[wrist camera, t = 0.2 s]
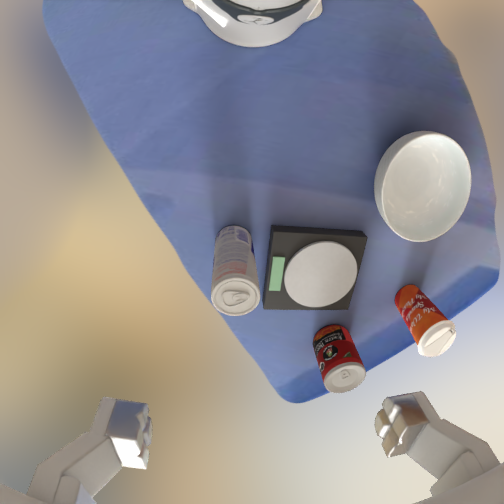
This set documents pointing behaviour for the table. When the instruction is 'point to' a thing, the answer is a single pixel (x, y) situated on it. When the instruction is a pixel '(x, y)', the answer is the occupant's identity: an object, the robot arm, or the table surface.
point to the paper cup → (425, 321)
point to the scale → (312, 268)
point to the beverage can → (234, 272)
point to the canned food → (338, 359)
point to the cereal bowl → (422, 185)
